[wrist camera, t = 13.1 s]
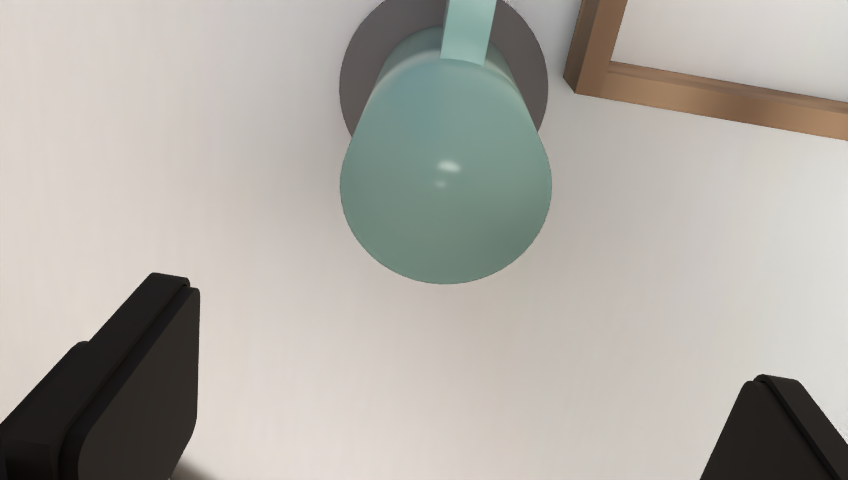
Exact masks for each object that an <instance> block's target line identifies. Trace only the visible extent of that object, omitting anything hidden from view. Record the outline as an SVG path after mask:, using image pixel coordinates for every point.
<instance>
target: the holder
mask: <svg viewBox="0 0 848 480" xmlns="http://www.w3.org/2000/svg"><path fill="white" fill-rule="evenodd" d="M626 4H627V0H582V4H581V8H580V12H579V15H578V19H577V23H576V27H575V31H574V35H573V39H572V43H571V47H570V50H569V54H568V58H567V62H566V66H565V70H564V74H563V78H564V79H565V81H566V82H567V83H568V85H569V86H570V87H571V89H572V90H573V91H574V93H576V94H581V95H587V96H593V97H599V98H604V99H610V100H616V101H622V102H627V103H633V104H639V105H645V106H650V107H656V108H662V109H668V110H673V111H679V112H685V113H691V114H696V115H702V116H708V117H714V118H719V119H725V120H731V121H737V122H743V123H748V124H754V125H760V126H766V127H771V128H777V129H783V130H789V131H794V132H800V133H806V134H812V135H817V136H823V137H829V138H835V139H840V140H846V141H848V103H846V102H840V101H834V100H829V99H823V98H817V97H812V96H806V95H800V94H795V93H789V92H783V91H778V90H772V89H766V88H761V87H755V86H749V85H744V84H738V83H732V82H727V81H721V80H715V79H710V78H704V77H698V76H693V75H687V74H681V73H676V72H670V71H664V70H659V69H653V68H647V67H642V66H636V65H630V64H625V63H619V62H613V61H610V60H611V56H612V53H613V49H614V46H615V42H616V39H617V35H618V32H619V28H620V25H621V21H622V18H623V14H624V11H625V7H626Z"/></svg>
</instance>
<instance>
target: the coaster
mask: <svg viewBox="0 0 848 480" xmlns="http://www.w3.org/2000/svg"><path fill="white" fill-rule="evenodd" d="M446 2H447V0H386V1H384V2H383V3H381V4H380V5H379V6H378V7H377V8H376V9H375V10H374V11H372V12H371V13H370V14H369V16H368V17H367V18H366V19H365V20H364V21H363V23H362V24H361V25H360V27H359V28H358V30H357V31H356V33H355V34H354V36H353V37H352V39H351V42H350V44H349V46H348V48H347V50H346V53H345V56H344V60H343V63H342V68H341V74H340V87H339V92H340V103H341V108H342V113H343V117H344V120H345V123H346V125H347V128H348V130H349V132H350V134H351V136H352V137H353V135H354V132H355V130H356V128H357V125H358V123H359V120H360V118H361V116H362V113H363V111H364V108H365V106H366V104H367V101H368V99H369V96H370V94H371V92H372V89H373V87H374V84H375V82H376V79H377V77H378V75H379V72H380V70H381V67H382V65H383V63H384V61H385V59H386V58H387V56H388V55H389V54H390V52H391V51H392V50H393V49H394V47H395V46H396V45H397V44H398V43H400V42H401V41H402V40H403V39H404V38H406V37H407V36H409V35H410V34H412V33H414V32H416V31H418V30H421V29H424V28H427V27H430V26H436V25H443V19H444V13H445V8H446ZM489 40H490V41H491V42H492V43H493V44H494V45H495V46H496V47H497V48H498V49H499V50H500V51H501V53H502V54H503V55H504V57H505V59H506V61H507V62H508V64H509V67H510V69H511V71H512V74H513V76H514V78H515V81H516V83H517V86H518V88H519V90H520V93H521V95H522V97H523V100H524V102H525V105H526V107H527V109H528V112H529V114H530V116H531V119H532V121H533V123H534V126H535V128H536V131H537V132H538V130H539V128H540V126H541V123H542V120H543V117H544V113H545V109H546V104H547V96H548V78H547V69H546V65H545V60H544V57H543V54H542V51H541V48H540V46H539V43H538V42H537V40H536V38H535V36H534V34H533V32H532V31H531V29H530V28H529V27H528V25H527V24H526V22H525V21H524V20H523V18H522V17H521V16H520V15H519V14H518V13H517V12H516V11H515V10H514V9H513V8H512V7H510V6H509V5H508V4H507V3H505V2H504V1H503V0H497V2H496V7H495V11H494V16H493V21H492V26H491V31H490V36H489Z"/></svg>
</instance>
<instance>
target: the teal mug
mask: <svg viewBox="0 0 848 480" xmlns="http://www.w3.org/2000/svg"><path fill="white" fill-rule="evenodd" d="M496 2H497V0H447V2H446V8H445V13H444V19H443V25H436V26H430V27H427V28H424V29H421V30H418V31H416V32H414V33H412V34H410V35H409V36H407V37H406V38H404V39H403V40H402V41H401V42H400V43H398V44H397V45H396V46H395V47H394V49H393V50H392V51H391V52H390V54H389V55H388V56H387V58H386V59H385V61H384V63H383V65H382V67H381V70H380V72H379V75H378V77H377V79H376V82H375V84H374V87H373V89H372V92H371V94H370V96H369V99H368V101H367V104H366V106H365V108H364V111H363V113H362V116H361V118H360V120H359V123H358V125H357V128H356V130H355V132H354V135H353V137H352V140H351V142H350V144H349V147H348V149H347V152H346V155H345V158H344V161H343V165H342V170H341V176H340V194H341V202H342V207H343V211H344V214H345V217H346V220H347V222H348V225H349V227H350V228H351V230H352V232H353V234H354V236H355V237H356V239H357V240H358V241H359V243H360V244H361V245H362V247H363V248H364V249H365V250H366V251H367V252H368V253H369V254H370V255H371V256H372V257H373V258H375V259H376V260H377V261H378V262H379V263H381V264H382V265H384V266H385V267H387V268H388V269H390V270H392V271H394V272H396V273H398V274H400V275H402V276H405V277H408V278H411V279H413V280H417V281H422V282H426V283H434V284H457V283H465V282H470V281H474V280H478V279H481V278H484V277H486V276H489V275H491V274H493V273H495V272H497V271H499V270H501V269H503V268H504V267H506V266H507V265H509V264H510V263H512V262H513V261H514V260H516V259H517V258H518V257H519V256H520V255H521V254H522V253H523V252H524V251H525V250H526V249H527V248H528V247H529V246H530V245H531V243H532V242H533V241H534V239H535V238H536V236H537V235H538V233H539V231H540V229H541V227H542V225H543V223H544V221H545V218H546V216H547V213H548V210H549V205H550V200H551V190H552V180H551V170H550V166H549V162H548V158H547V155H546V152H545V150H544V147H543V145H542V142H541V140H540V138H539V135H538V133H537V131H536V128H535V126H534V123H533V121H532V119H531V116H530V114H529V112H528V109H527V107H526V105H525V102H524V100H523V97H522V95H521V93H520V90H519V88H518V86H517V83H516V81H515V78H514V76H513V74H512V71H511V69H510V67H509V64H508V62H507V61H506V59H505V57H504V55H503V54H502V53H501V51H500V50H499V49H498V48H497V47H496V46H495V45H494V44H493V43H492V42H491V41H490V40H489V36H490V31H491V26H492V21H493V16H494V11H495V7H496Z"/></svg>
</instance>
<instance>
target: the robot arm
mask: <svg viewBox="0 0 848 480" xmlns="http://www.w3.org/2000/svg"><path fill="white" fill-rule="evenodd" d="M199 321H200V292H199V289H198V288H192V287H190V282H189V279H188V278H185V277H179V276H173V275H167V274H161V273H151V274H150V275H149V276H148V277H147V278H146V279H145V280H144V281H143V282H142V283H141V284H140V286H139V287H138V288H137V289H136V290H135V291H134V292H133V293H132V294H131V296H130V297H129V298H128V299H127V300H126V301H125V302H124V303H123V304H122V305H121V307H120V308H119V309H118V310H117V311H116V312H115V313H114V314H113V315H112V316H111V318H110V319H109V320H108V321H107V322H106V323H105V324H104V325H103V326H102V327H101V329H100V330H99V331H98V332H97V333H96V334H95V335H94V336H93V337H92V339H91V340H90V341H89V342H88V341H82V342H78V343H77V344H76V345H75V346H73V347H72V348H71V349H70V350H69V351H68V352H67V353H66V354H65V355H64V357H63V358H62V359H61V360H60V361H59V362H58V363H57V364H56V365H55V366H54V367H53V368H52V369H51V370H50V372H49V373H48V374H47V375H46V376H45V377H44V378H43V379H42V380H41V381H40V382H39V383H38V384H37V385H36V387H35V388H34V389H33V390H32V391H31V392H30V393H29V394H28V395H27V396H26V397H25V398H24V399H23V400H22V402H21V403H20V404H19V405H18V406H17V407H16V408H15V409H14V410H13V411H12V412H11V413H10V414H9V415H8V416H7V418H6V419H5V420H4V421H3V422H2V423H1V424H0V480H169V478H170V476H171V474H172V472H173V470H174V468H175V466H176V465H177V463H178V461H179V459H180V457H181V455H182V453H183V451H184V449H185V448H186V446H187V444H188V442H189V440H190V438H191V436H192V434H193V431H194V428H195V424H196V419H197V398H198V360H199ZM700 480H848V444H847V443H846V442H845V440H844V439H843V438H842V436H841V435H840V434H839V433H838V431H837V430H836V429H835V427H834V426H833V425H832V423H831V422H830V421H829V419H828V418H827V417H826V416H825V414H824V413H823V412H822V410H821V409H820V408H819V406H818V405H817V404H816V403H815V401H814V400H813V399H812V397H811V396H810V395H809V393H808V392H807V391H806V389H805V388H804V387H803V386H802V384H801V383H800V382H798V381H797V380H794V379H788V378H782V377H777V376H771V375H765V374H761V375H758V376H757V377H756V378H755V379H754V380H753V381H747V382H746V383H745V384H744V385H743V387H742V388H741V391H740V393H739V395H738V397H737V399H736V401H735V404H734V406H733V408H732V410H731V412H730V415H729V417H728V419H727V421H726V423H725V426H724V428H723V430H722V432H721V434H720V436H719V439H718V441H717V443H716V445H715V447H714V450H713V452H712V454H711V456H710V458H709V461H708V463H707V465H706V467H705V469H704V472H703V474H702V476H701V478H700Z"/></svg>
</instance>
